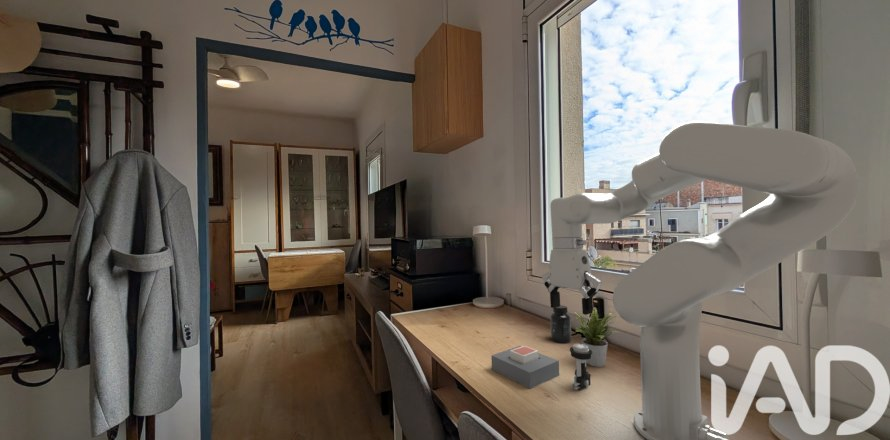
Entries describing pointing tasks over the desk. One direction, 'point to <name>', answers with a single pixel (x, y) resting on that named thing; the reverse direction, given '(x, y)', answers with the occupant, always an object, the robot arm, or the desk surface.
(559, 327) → the supplement bottle
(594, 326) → the house plant
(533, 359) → the breaker button
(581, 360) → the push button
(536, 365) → the grey button box
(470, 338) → the desk surface
